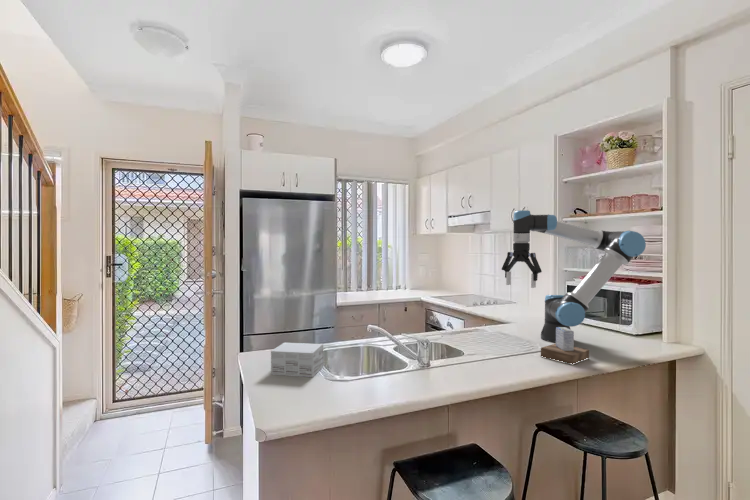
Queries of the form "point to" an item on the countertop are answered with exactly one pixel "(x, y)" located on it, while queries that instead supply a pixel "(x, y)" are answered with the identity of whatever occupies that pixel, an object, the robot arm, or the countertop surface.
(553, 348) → the walnut base block
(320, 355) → the supplement box
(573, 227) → the robot arm
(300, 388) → the countertop surface
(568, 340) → the medicine box
